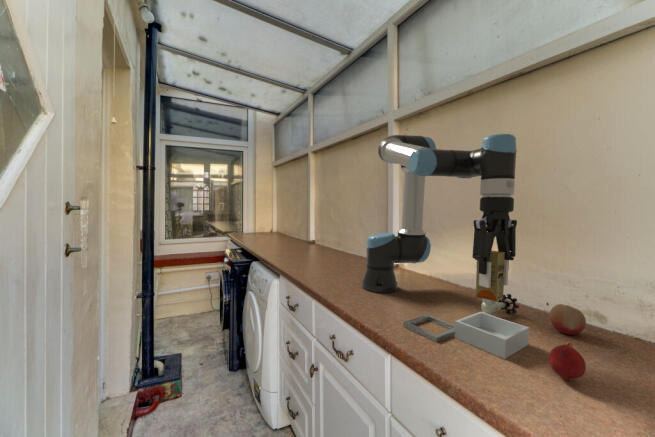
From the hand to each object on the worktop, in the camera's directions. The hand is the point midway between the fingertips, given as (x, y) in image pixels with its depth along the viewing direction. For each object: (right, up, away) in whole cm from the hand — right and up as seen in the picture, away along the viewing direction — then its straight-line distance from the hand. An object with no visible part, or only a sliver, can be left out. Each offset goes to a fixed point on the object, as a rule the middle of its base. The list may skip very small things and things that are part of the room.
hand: (493, 285), depth 74 cm
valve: (+12, -15, +19) cm, 27 cm away
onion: (+6, -16, -16) cm, 23 cm away
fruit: (+25, -15, +7) cm, 30 cm away
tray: (0, -15, +1) cm, 15 cm away
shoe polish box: (-1, -4, +1) cm, 4 cm away
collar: (-13, -15, +8) cm, 21 cm away
